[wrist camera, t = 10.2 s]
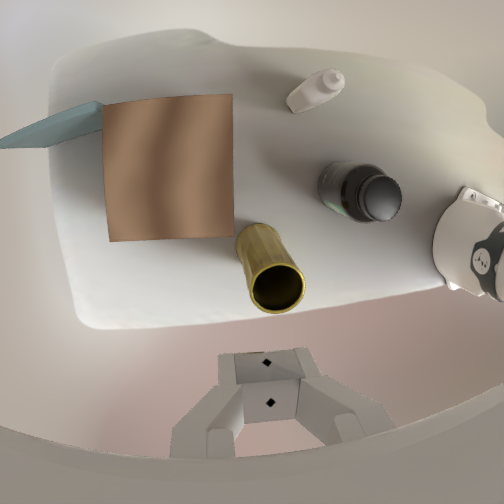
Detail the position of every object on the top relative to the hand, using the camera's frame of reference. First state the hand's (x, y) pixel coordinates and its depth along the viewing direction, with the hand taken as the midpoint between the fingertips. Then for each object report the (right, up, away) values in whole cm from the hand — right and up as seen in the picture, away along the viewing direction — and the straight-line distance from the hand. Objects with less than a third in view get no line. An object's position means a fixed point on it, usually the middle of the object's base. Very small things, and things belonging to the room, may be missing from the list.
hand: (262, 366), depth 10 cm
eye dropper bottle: (+7, +24, +26) cm, 36 cm away
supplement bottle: (+12, +13, +30) cm, 35 cm away
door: (-23, +20, +23) cm, 38 cm away
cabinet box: (-9, +15, +27) cm, 32 cm away
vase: (0, +5, +32) cm, 32 cm away
